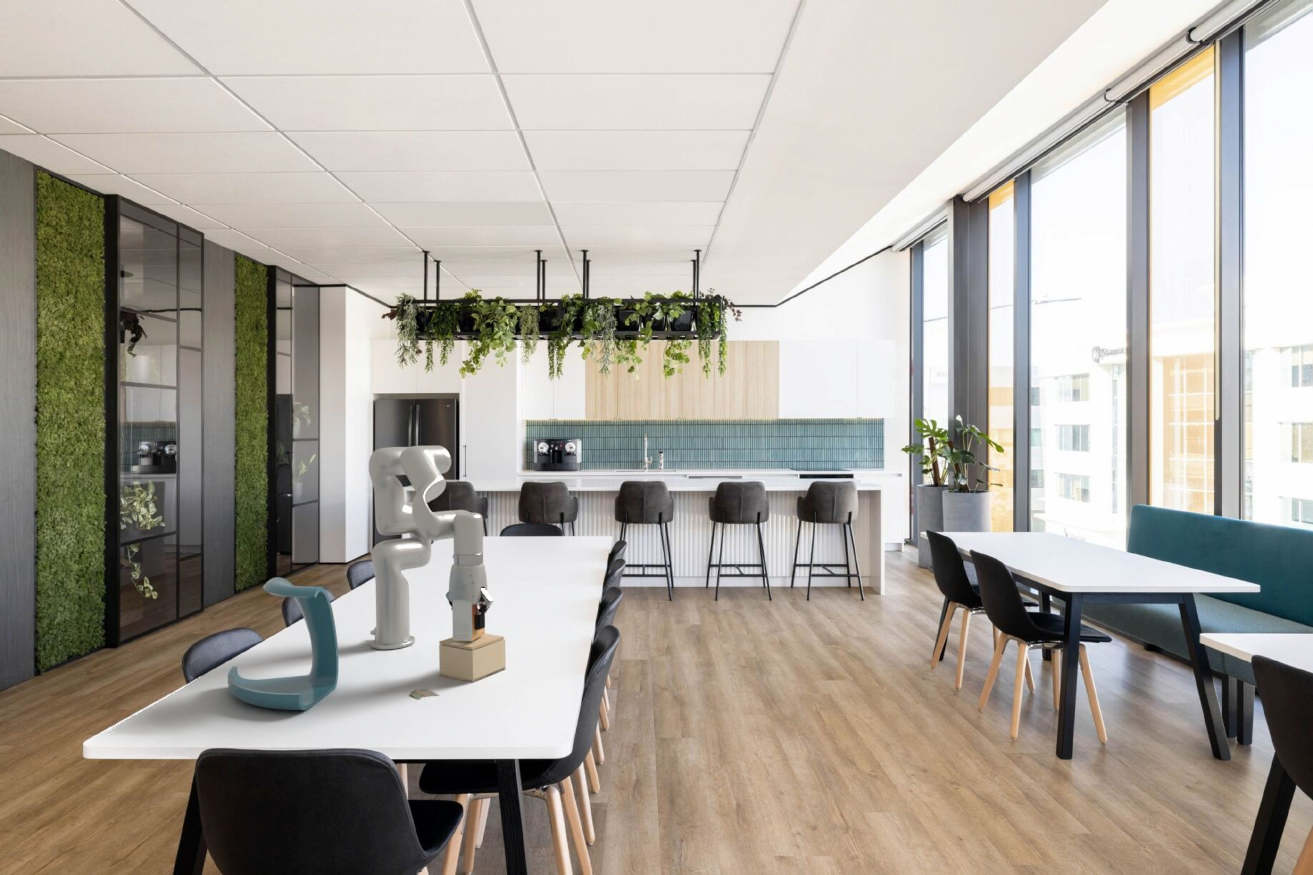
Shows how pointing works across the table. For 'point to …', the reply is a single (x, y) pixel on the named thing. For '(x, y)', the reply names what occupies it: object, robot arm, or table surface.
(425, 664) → the table surface
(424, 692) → the map
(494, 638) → the lid
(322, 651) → the headphone stand
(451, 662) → the carton
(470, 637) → the small box
